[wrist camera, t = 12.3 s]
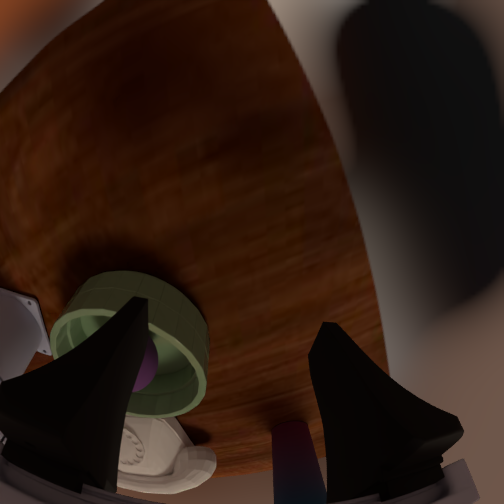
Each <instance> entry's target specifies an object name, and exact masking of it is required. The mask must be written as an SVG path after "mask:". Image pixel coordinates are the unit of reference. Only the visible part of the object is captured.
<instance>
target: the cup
mask: <svg viewBox="0 0 504 504" xmlns="http://www.w3.org/2000/svg"><path fill="white" fill-rule="evenodd" d="M272 457H273V487H274V504H326V499H327V492H326V489H325V485H324V481H323V478H322V474H321V471H320V467H319V463H318V460H317V456H316V453H315V449H314V446H313V442H312V439H311V435H310V432H309V428H308V425H307V424H306V423H304V422H300V421H291V422H285V423H282V424H279V425H277V426H275V427H274V428H273V429H272Z"/></svg>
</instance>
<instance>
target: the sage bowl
mask: <svg viewBox="0 0 504 504" xmlns="http://www.w3.org/2000/svg"><path fill="white" fill-rule="evenodd" d="M133 296H136V297H141V298H147V299H148V324H149V336H150V337H151V339H152V340H153V342H154V344H155V346H156V348H157V352H158V368H157V372H156V374H155V376H154V378H153V380H152V381H151V382H150V383H149V384H148V385H147V386H146V387H144V388H143V389H141V390H139V391H136V392H132V394H131V397H130V400H129V403H128V407H127V412H126V414H127V415H132V416H136V417H143V418H167V417H174V416H177V415H180V414H183V413H186V412H188V411H190V410H191V409H193V408H194V407H196V406H197V405H198V404H199V403H200V401H201V400H202V398H203V397H204V396H205V391H206V385H207V372H208V358H209V345H210V338H209V333H208V328H207V324H206V323H205V321H204V319H203V317H202V316H201V314H200V312H199V310H198V309H197V308H196V307H195V306H194V305H193V304H192V302H191V301H190V300H189V299H188V298H187V297H186V296H185V295H184V294H183V293H181V292H180V291H179V290H177V289H176V288H175V287H173V286H172V285H170V284H168V283H167V282H165V281H163V280H161V279H158V278H156V277H154V276H151V275H148V274H144V273H140V272H135V271H112V272H104V273H101V274H99V275H96V276H93V277H91V278H89V279H88V280H87V281H85V282H84V283H83V284H82V285H81V286H80V287H79V288H78V289H77V291H76V292H75V294H74V295H73V296H72V298H71V299H70V301H69V302H68V304H67V305H66V307H65V308H64V310H63V311H62V313H61V314H60V316H59V317H58V319H57V320H56V322H55V323H54V326H53V328H52V331H51V333H50V349H51V352H52V355H53V357H54V360H55V359H57V358H59V357H61V356H62V355H64V354H66V353H67V352H69V351H70V350H72V349H73V348H75V347H76V346H78V345H79V344H80V343H82V342H83V341H84V340H86V339H87V338H88V337H89V336H91V335H92V334H93V333H94V332H95V331H97V330H98V329H99V328H100V327H101V326H102V325H104V324H105V323H106V322H107V321H108V320H109V319H110V318H111V317H112V316H113V315H114V314H115V313H117V312H118V311H119V310H120V309H121V308H122V307H123V306H124V305H125V304H126V303H127V302H128V301H129V300H130V299H131V298H132V297H133Z"/></svg>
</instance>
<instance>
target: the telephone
mask: <svg viewBox="0 0 504 504" xmlns="http://www.w3.org/2000/svg"><path fill="white" fill-rule="evenodd" d="M215 468H216V455H215V453H214V451H213V450H212V449H210V448H207V447H204V446H194V444H193V443H192V442H191V440H190V439H189V437H188V436H187V434H186V433H185V431H184V430H183V428H182V427H181V425H180V424H179V422H178V421H177V419H176V418H175V417H167V418H143V417H136V416H132V415H127V414H126V417H125V422H124V428H123V434H122V440H121V447H120V455H119V464H118V477H117V486H118V487H121V488H125V489H130V490H134V491H139V492H144V493H157V494H175V493H178V492H182V491H185V490H188V489H191V488H194V487H197V486H199V485H200V484H202V483H203V482H204V481H206V480H207V479H209V478H210V477H211V476H212V474H213V472H214V470H215ZM165 475H167V476H165Z"/></svg>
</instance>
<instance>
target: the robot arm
mask: <svg viewBox="0 0 504 504" xmlns="http://www.w3.org/2000/svg"><path fill="white" fill-rule="evenodd" d="M148 337H149V324H148V299H147V298H141V297H136V296H133V297H132V298H131V299H130V300H129V301H128V302H127V303H126V304H125V305H124V306H123V307H122V308H121V309H120V310H119V311H118V312H117V313H115V314H114V315H113V316H112V317H111V318H110V319H109V320H108V321H107V322H106V323H105V324H104V325H102V326H101V327H100V328H99V329H98V330H97V331H95V332H94V333H93V334H92V335H91V336H89V337H88V338H87V339H86V340H84V341H83V342H82V343H80V344H79V345H78V346H76V347H75V348H73V349H72V350H70V351H69V352H67V353H66V354H64V355H62V356H61V357H59V358H57V359H55V360H53V361H52V362H50V363H48V364H46V365H44V366H42V367H40V368H38V369H35V370H33V371H31V372H28V373H26V374H23V373H24V372H25V370H26V368H27V366H28V364H29V363H30V361H31V359H32V357H33V356H34V354H35V352H36V351H38V352H41V353H44V354H47V355H50V356H51V355H52V352H51V349H50V342H49V339H48V336H47V332H46V329H45V326H44V322H43V319H42V315H41V312H40V308H39V304H38V301H37V300H36V299H34V298H31V297H28V296H24V295H21V294H18V293H15V292H12V291H9V290H6V289H3V288H0V504H164V503H158V502H152V501H147V500H142V499H137V498H133V497H129V496H124V495H120V494H117V493H116V492H117V477H118V464H119V455H120V447H121V440H122V434H123V428H124V422H125V417H126V412H127V407H128V403H129V400H130V397H131V394H132V391H133V388H134V385H135V382H136V379H137V376H138V373H139V370H140V367H141V365H142V362H143V359H144V355H145V351H146V346H147V342H148ZM308 359H309V368H310V376H311V380H312V384H313V388H314V391H315V395H316V399H317V403H318V407H319V410H320V414H321V418H322V423H323V430H324V438H325V448H326V460H327V499H326V504H473V503H475V502H476V501H478V500H479V499H480V497H479V494H478V491H477V489H476V486H475V484H474V481H473V479H472V476H471V474H470V471H469V469H468V467H467V464H466V462H465V460H464V459H461V460H458V461H456V462H454V463H452V464H450V465H447V466H445V467H444V468H441V465H440V463H442V462H443V457H442V454H443V453H444V452H446V451H447V450H448V449H449V448H451V447H452V446H453V445H454V444H455V443H456V442H457V441H458V440H459V439H460V438H461V437H462V436H463V433H464V430H463V428H462V426H461V424H460V421H459V419H458V417H457V416H455V415H453V414H450V413H448V412H445V411H443V410H441V409H439V408H436V407H435V406H432V405H430V404H429V403H427V402H425V401H423V400H422V399H420V398H418V397H417V396H415V395H413V394H412V393H411V392H409V391H408V390H406V389H405V388H403V387H402V386H401V385H399V384H398V383H397V382H396V381H394V380H393V379H392V378H391V377H389V376H388V375H387V374H386V373H385V372H384V371H383V370H382V369H380V368H379V367H378V366H377V365H376V364H375V363H374V362H373V361H372V360H371V359H370V358H369V357H368V356H367V355H366V354H365V353H364V352H363V351H362V350H361V349H360V348H359V346H358V345H357V344H356V343H355V342H354V341H353V340H352V339H351V338H350V337H349V336H348V335H347V333H346V332H345V331H344V330H343V329H342V328H341V327H340V326H339V325H338V324H337V323H333V322H323V323H322V325H321V328H320V330H319V332H318V335H317V337H316V339H315V341H314V343H313V346H312V348H311V350H310V352H309V354H308Z"/></svg>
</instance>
